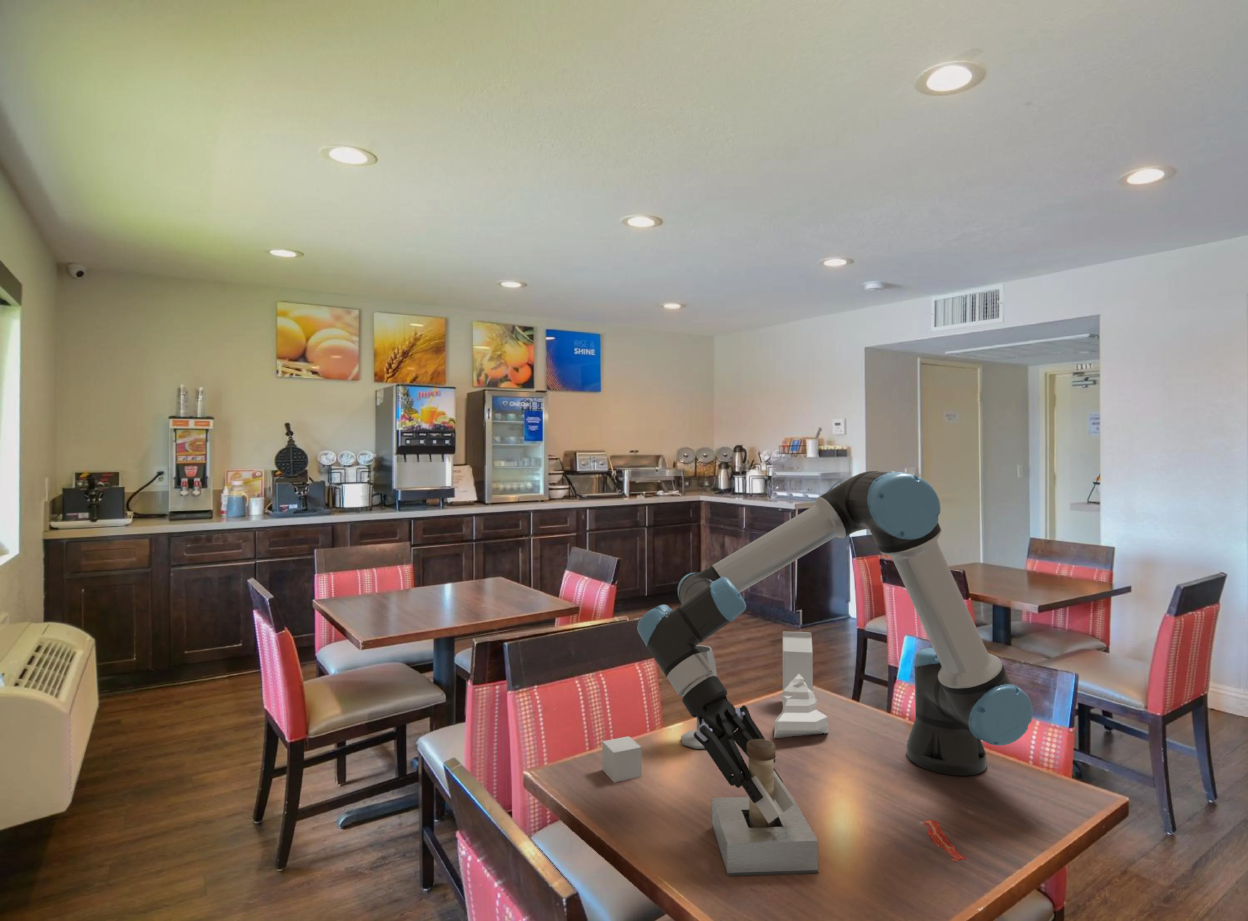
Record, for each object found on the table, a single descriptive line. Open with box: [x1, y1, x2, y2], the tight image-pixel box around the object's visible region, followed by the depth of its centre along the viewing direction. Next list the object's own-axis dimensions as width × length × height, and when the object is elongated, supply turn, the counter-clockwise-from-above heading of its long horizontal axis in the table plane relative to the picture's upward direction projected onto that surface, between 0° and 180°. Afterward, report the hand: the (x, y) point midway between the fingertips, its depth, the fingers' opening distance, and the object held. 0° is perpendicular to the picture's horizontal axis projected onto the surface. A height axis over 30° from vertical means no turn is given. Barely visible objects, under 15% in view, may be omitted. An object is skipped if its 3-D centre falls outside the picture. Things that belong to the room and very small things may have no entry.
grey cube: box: [601, 735, 642, 783], centre depth 139 cm, size 6×6×6 cm
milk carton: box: [782, 631, 814, 692], centre depth 175 cm, size 7×7×19 cm
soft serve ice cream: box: [773, 674, 829, 739], centre depth 159 cm, size 12×15×14 cm
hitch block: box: [711, 795, 819, 877], centre depth 112 cm, size 14×14×5 cm
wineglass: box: [680, 644, 718, 750], centre depth 154 cm, size 9×9×21 cm
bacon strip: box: [922, 819, 968, 862], centre depth 116 cm, size 4×15×1 cm, turn 0°
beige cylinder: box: [746, 738, 776, 828], centre depth 112 cm, size 5×5×14 cm
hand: (782, 812), depth 110 cm, fingers closed on beige cylinder, 4 cm apart
